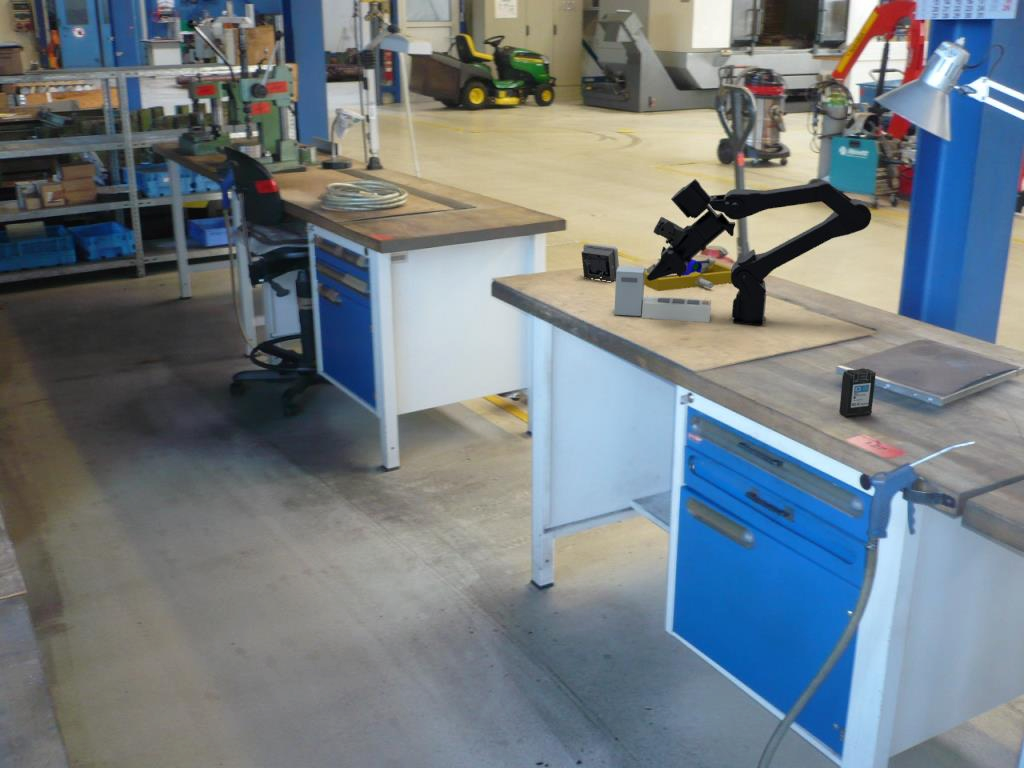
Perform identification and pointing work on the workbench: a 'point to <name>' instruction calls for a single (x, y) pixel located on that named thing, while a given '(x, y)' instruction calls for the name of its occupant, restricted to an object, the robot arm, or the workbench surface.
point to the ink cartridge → (857, 393)
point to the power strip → (676, 309)
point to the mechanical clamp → (693, 276)
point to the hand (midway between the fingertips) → (647, 279)
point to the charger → (629, 290)
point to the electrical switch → (600, 262)
